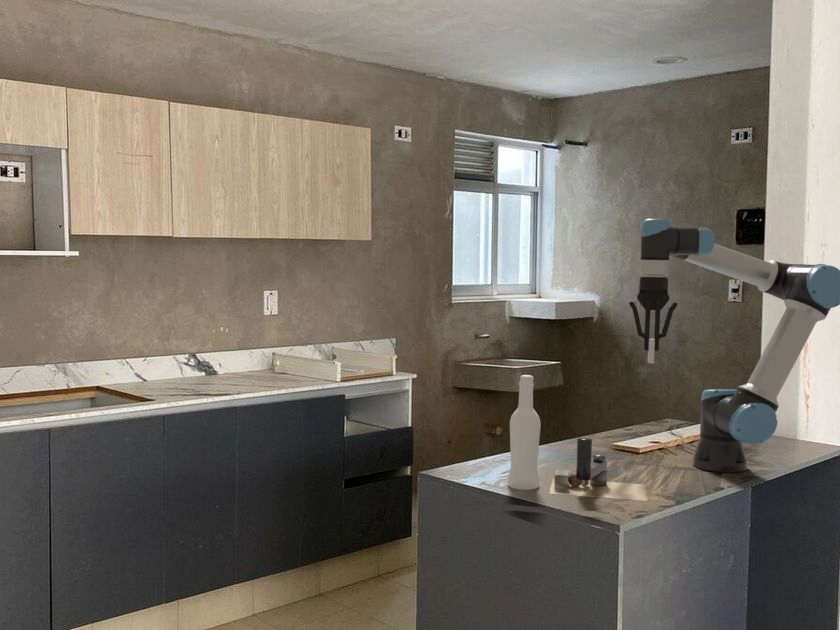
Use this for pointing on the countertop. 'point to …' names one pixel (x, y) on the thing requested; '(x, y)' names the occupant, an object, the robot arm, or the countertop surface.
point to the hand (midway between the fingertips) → (650, 362)
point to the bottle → (524, 439)
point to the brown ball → (574, 480)
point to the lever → (588, 461)
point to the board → (597, 487)
